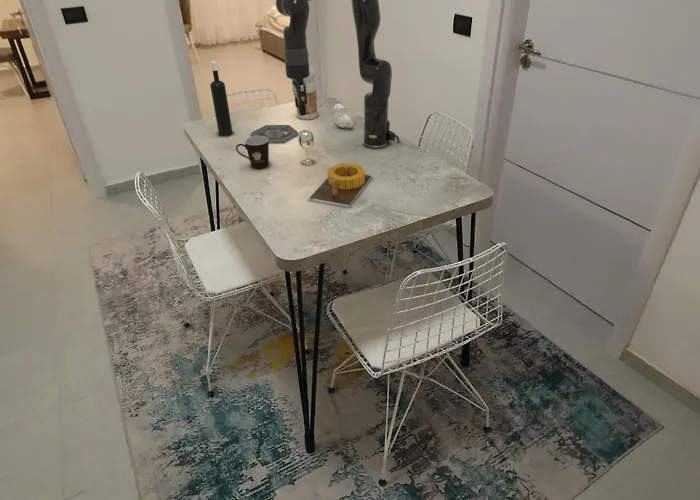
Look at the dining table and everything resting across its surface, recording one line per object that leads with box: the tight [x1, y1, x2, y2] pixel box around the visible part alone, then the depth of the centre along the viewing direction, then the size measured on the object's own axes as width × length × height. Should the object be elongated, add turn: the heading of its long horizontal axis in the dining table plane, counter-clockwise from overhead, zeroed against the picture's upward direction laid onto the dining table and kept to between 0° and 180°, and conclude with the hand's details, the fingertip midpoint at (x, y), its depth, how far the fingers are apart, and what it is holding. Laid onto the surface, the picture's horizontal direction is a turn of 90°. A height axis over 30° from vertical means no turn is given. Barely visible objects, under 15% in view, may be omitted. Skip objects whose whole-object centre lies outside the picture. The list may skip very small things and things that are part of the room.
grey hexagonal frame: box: [250, 124, 299, 144], centre depth 208 cm, size 17×20×1 cm
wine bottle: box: [209, 60, 234, 137], centre depth 202 cm, size 6×6×30 cm
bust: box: [333, 103, 354, 129], centre depth 212 cm, size 12×8×11 cm
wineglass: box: [297, 129, 315, 164], centre depth 182 cm, size 6×6×12 cm
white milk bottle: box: [296, 51, 318, 120], centre depth 218 cm, size 9×9×28 cm
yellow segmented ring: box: [327, 162, 366, 189], centre depth 170 cm, size 13×13×4 cm
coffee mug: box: [235, 135, 270, 170], centre depth 182 cm, size 12×9×10 cm
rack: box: [309, 166, 372, 206], centre depth 167 cm, size 22×14×6 cm, turn 159°
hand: (300, 110), depth 166 cm, fingers open, 8 cm apart
